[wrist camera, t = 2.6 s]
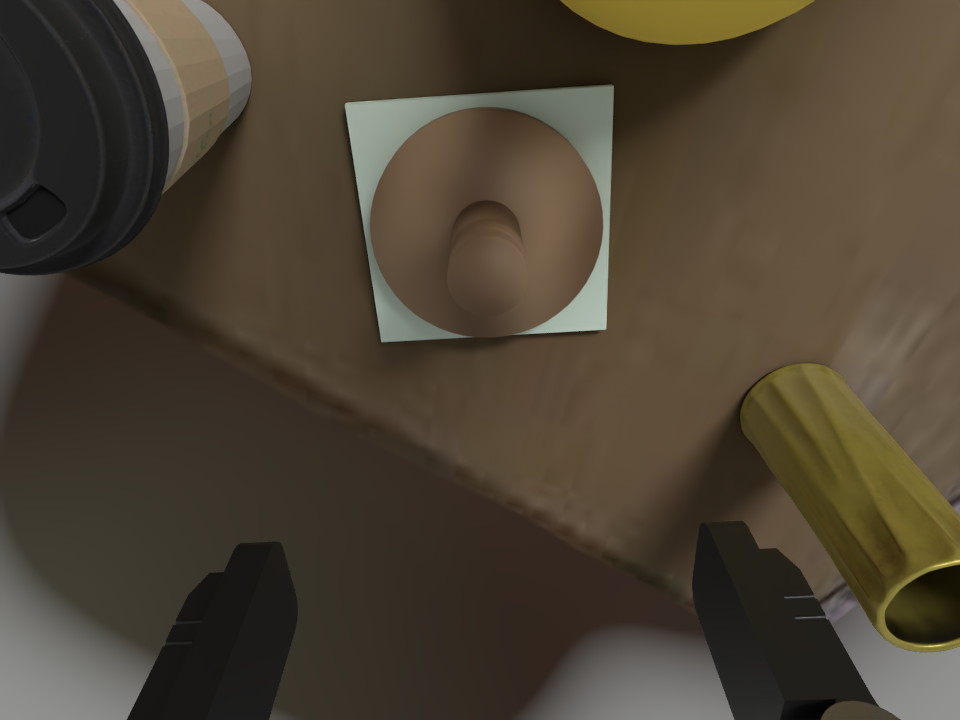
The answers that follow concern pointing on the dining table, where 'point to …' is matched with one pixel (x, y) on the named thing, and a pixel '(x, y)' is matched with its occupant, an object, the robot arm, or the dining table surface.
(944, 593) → the vase
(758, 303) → the dining table surface
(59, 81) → the coffee cup
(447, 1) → the dining table surface
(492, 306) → the lid
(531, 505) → the dining table surface
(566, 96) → the mat
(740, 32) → the teapot
